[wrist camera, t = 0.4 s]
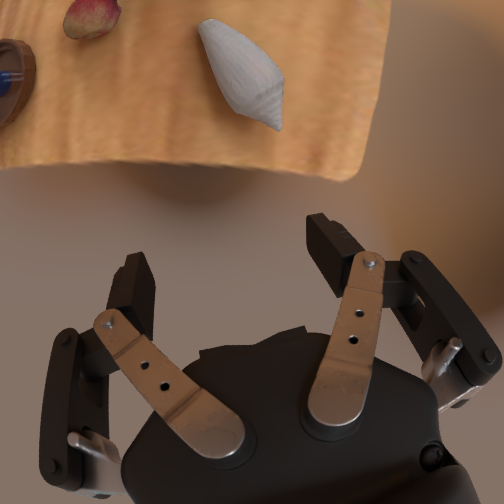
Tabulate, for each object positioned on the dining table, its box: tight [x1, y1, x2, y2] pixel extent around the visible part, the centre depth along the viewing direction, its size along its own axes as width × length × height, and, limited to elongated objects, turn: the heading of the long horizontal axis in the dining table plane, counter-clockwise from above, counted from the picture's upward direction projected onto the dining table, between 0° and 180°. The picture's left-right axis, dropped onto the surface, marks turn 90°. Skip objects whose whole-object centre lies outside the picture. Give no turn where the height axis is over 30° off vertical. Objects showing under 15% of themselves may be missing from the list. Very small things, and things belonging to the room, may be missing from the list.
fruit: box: [63, 0, 121, 40], centre depth 19 cm, size 8×8×8 cm
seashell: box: [198, 19, 284, 131], centre depth 29 cm, size 9×11×15 cm
